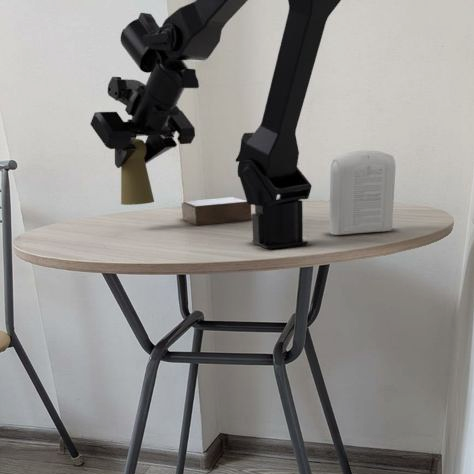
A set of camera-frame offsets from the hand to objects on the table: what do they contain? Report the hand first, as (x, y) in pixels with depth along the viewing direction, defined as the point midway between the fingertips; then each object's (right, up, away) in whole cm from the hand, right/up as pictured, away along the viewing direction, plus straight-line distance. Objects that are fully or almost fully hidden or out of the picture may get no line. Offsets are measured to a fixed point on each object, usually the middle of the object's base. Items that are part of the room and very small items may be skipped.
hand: (128, 165), depth 105 cm
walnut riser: (+15, -8, +9) cm, 20 cm away
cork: (+1, -7, +1) cm, 7 cm away
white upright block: (+39, -15, -12) cm, 44 cm away
